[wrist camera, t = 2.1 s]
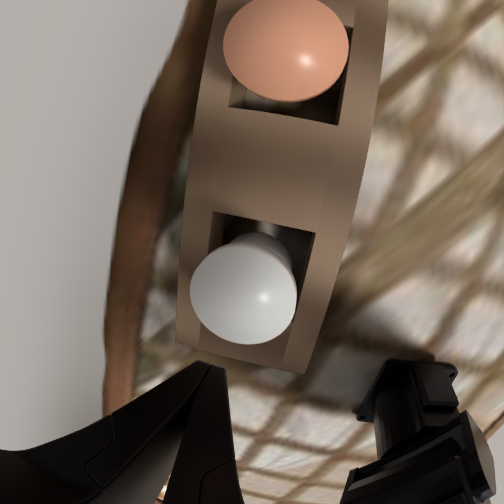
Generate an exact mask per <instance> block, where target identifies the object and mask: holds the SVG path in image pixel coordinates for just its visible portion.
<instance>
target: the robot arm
mask: <svg viewBox="0 0 504 504" xmlns="http://www.w3.org/2000/svg"><path fill="white" fill-rule="evenodd" d="M390 365H393V366H391V367H389V366H390ZM452 372H453V373H452ZM457 374H458V371H457V369H456V367H453V366H443V365H438V364H430V363H421V362H410V361H403V360H396V359H389V360H387V361H385V363H384V364H383V366H382V368H381V370H380V372H379V374H378V376H377V378H376V380H375V382H374V383H373V385H372V387H371V389H370V391H369V392H368V394H367V396H366V398H365V400H364V401H363V403H362V405H361V406H360V408H359V410H358V412H357V413H356V419H357V420H358V421H363V422H373V423H374V428H375V437H376V447H377V457H378V460H377V461H375V462H372V463H370V464H368V465H365V466H363V467H361V468H355V469H353V470H350V472H349V476H348V479H347V482H346V485H345V489H344V492H343V495H342V498H341V501H340V504H491V502H490V499H489V498H490V497H492V496H494V495H495V494H496V483H495V470H494V461H493V457H492V454H491V451H490V449H489V446H488V444H487V441H486V439H485V436H484V434H483V433H482V431H481V430H480V428H479V427H478V426H477V424H476V423H475V421H474V420H473V418H472V417H471V416H470V414H469V413H468V412H467V410H465V411H463V412H462V413H460V414H459V411H458V409H457V407H458V405H459V402H458V399H457V397H456V394H455V392H454V389H453V387H452V382H453V381H454V379H455V378H456V376H457ZM170 473H171V476H170V479H169V483H168V486H167V489H166V493H165V496H164V499H163V503H162V504H244V501H243V497H242V493H241V489H240V485H239V480H238V474H237V467H236V460H235V452H234V443H233V434H232V426H231V416H230V407H229V397H228V387H227V377H226V369H225V367H222V366H218V365H215V364H213V365H211V364H210V363H208V362H204V361H201V360H197V361H195V362H194V363H192V364H190V365H189V366H187V367H186V368H184V369H183V370H181V371H180V372H178V373H176V374H175V375H173V376H172V377H170V378H169V379H167V380H165V381H164V382H162V383H161V384H159V385H157V386H156V387H154V388H153V389H151V390H149V391H148V392H146V393H144V394H143V395H141V396H139V397H138V398H136V399H134V400H133V401H131V402H129V403H128V404H126V405H124V406H123V407H121V408H119V409H118V410H116V411H114V412H113V413H111V415H107V416H105V417H104V418H102V419H100V420H98V421H96V422H95V423H93V424H91V425H89V426H87V427H85V428H83V429H81V430H78V431H76V432H74V433H71V434H69V435H66V436H64V437H61V438H59V439H56V440H53V441H51V442H48V443H45V444H43V445H40V446H37V447H34V448H30V449H26V450H19V451H8V450H1V449H0V504H154V503H155V501H156V499H157V497H158V495H159V494H160V492H161V490H162V488H163V486H164V484H165V483H166V481H167V479H168V477H169V475H170Z"/></svg>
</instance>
